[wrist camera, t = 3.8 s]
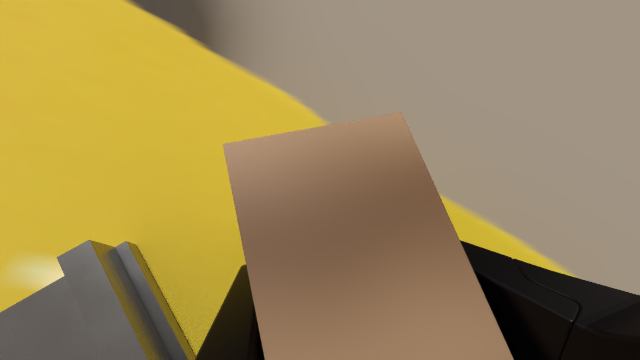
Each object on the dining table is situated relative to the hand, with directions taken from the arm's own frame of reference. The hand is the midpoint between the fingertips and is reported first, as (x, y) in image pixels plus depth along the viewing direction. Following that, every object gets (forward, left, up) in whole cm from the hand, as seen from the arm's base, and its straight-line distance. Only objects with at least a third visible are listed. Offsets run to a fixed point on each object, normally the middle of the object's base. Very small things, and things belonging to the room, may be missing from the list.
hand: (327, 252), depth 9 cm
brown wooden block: (-1, +1, -7) cm, 7 cm away
